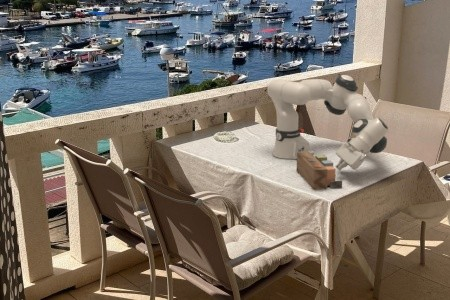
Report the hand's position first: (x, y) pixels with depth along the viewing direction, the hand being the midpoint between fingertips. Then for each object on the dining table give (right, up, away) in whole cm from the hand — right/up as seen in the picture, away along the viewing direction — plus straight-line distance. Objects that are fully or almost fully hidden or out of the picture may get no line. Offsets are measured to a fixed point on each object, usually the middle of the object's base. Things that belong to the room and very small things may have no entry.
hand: (337, 168), depth 268 cm
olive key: (-6, -2, +9) cm, 11 cm away
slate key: (-5, -4, +1) cm, 7 cm away
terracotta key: (-6, -7, -8) cm, 12 cm away
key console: (-9, -5, 0) cm, 11 cm away
